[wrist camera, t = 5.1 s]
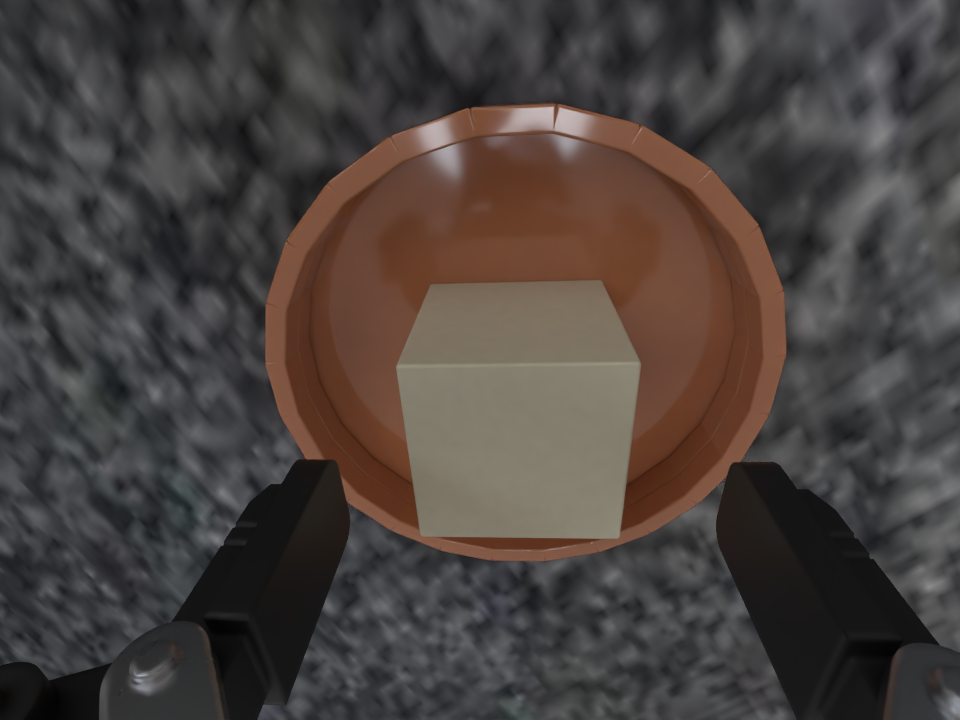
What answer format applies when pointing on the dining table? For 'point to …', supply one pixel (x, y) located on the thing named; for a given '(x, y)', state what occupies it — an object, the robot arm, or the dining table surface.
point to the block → (519, 410)
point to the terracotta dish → (529, 258)
